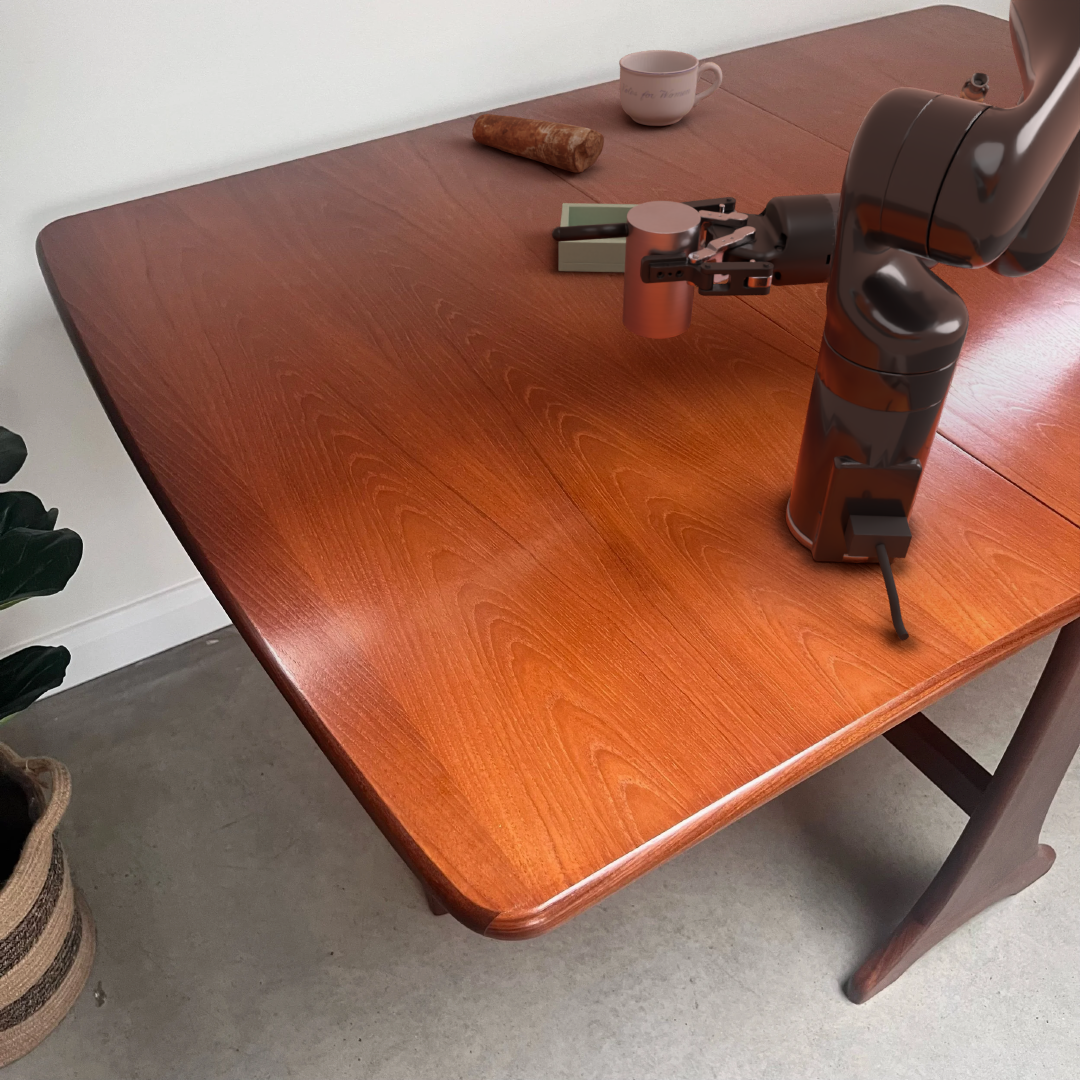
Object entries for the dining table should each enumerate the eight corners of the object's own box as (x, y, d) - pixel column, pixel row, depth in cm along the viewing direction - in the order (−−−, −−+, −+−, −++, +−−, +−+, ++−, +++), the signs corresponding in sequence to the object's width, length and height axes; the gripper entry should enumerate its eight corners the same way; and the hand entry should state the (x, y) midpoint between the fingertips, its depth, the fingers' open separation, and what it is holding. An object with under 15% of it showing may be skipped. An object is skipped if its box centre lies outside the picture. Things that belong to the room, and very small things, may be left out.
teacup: (608, 129, 143) (610, 68, 138) (627, 100, 151) (629, 42, 145) (709, 139, 140) (715, 78, 135) (722, 110, 148) (729, 51, 142)
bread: (579, 183, 131) (580, 139, 127) (465, 147, 139) (462, 105, 135) (608, 166, 134) (610, 122, 130) (495, 132, 143) (493, 90, 139)
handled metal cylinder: (682, 301, 97) (691, 198, 90) (697, 336, 92) (708, 230, 86) (548, 310, 96) (547, 207, 89) (556, 346, 92) (556, 240, 85)
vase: (985, 124, 143) (997, 79, 139) (944, 118, 145) (955, 74, 140) (991, 111, 146) (1003, 66, 142) (951, 105, 148) (962, 61, 144)
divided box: (723, 274, 113) (727, 244, 111) (558, 271, 114) (558, 241, 112) (718, 234, 120) (721, 205, 118) (562, 231, 121) (562, 202, 119)
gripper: (805, 163, 94) (621, 174, 92) (859, 236, 83) (652, 249, 82) (792, 241, 99) (618, 252, 97) (842, 319, 88) (647, 332, 87)
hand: (634, 251), depth 90 cm, fingers closed on handled metal cylinder, 6 cm apart
